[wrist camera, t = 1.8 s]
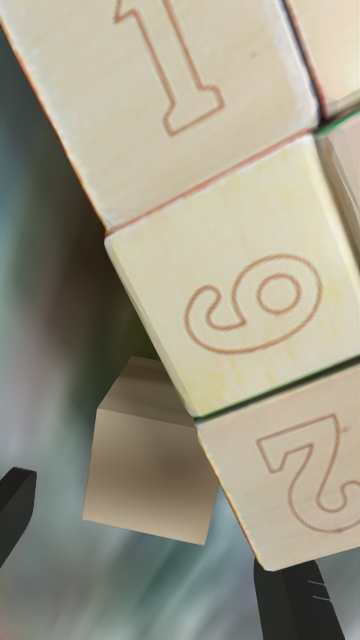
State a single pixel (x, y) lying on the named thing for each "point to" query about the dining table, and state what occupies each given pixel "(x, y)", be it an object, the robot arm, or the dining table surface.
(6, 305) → the dining table surface
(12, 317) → the dining table surface
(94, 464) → the birch block
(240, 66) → the stack of blocks
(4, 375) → the dining table surface
